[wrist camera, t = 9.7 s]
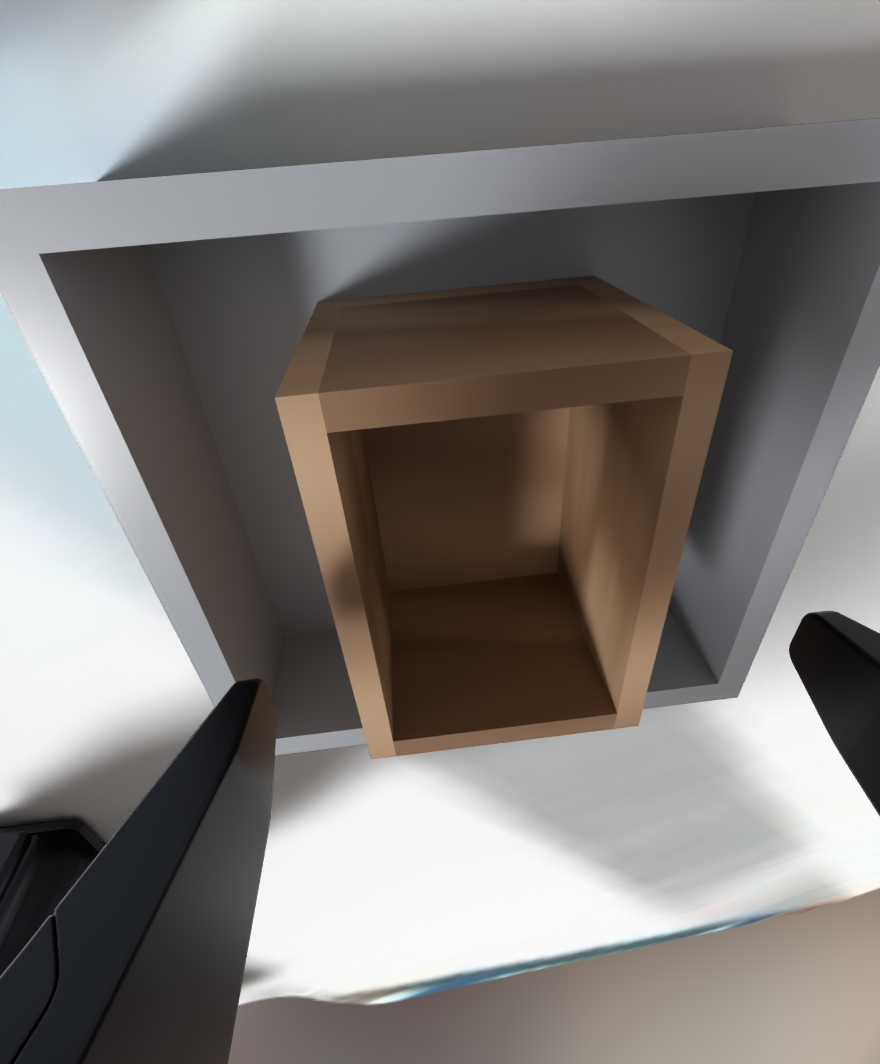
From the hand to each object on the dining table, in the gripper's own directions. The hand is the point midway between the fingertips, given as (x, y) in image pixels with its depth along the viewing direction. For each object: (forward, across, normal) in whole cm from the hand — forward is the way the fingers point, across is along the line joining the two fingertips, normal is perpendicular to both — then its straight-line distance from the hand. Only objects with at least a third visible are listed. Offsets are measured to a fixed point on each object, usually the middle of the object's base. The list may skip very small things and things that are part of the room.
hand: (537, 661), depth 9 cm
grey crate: (+8, 0, 0) cm, 9 cm away
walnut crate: (+8, 0, 0) cm, 8 cm away
